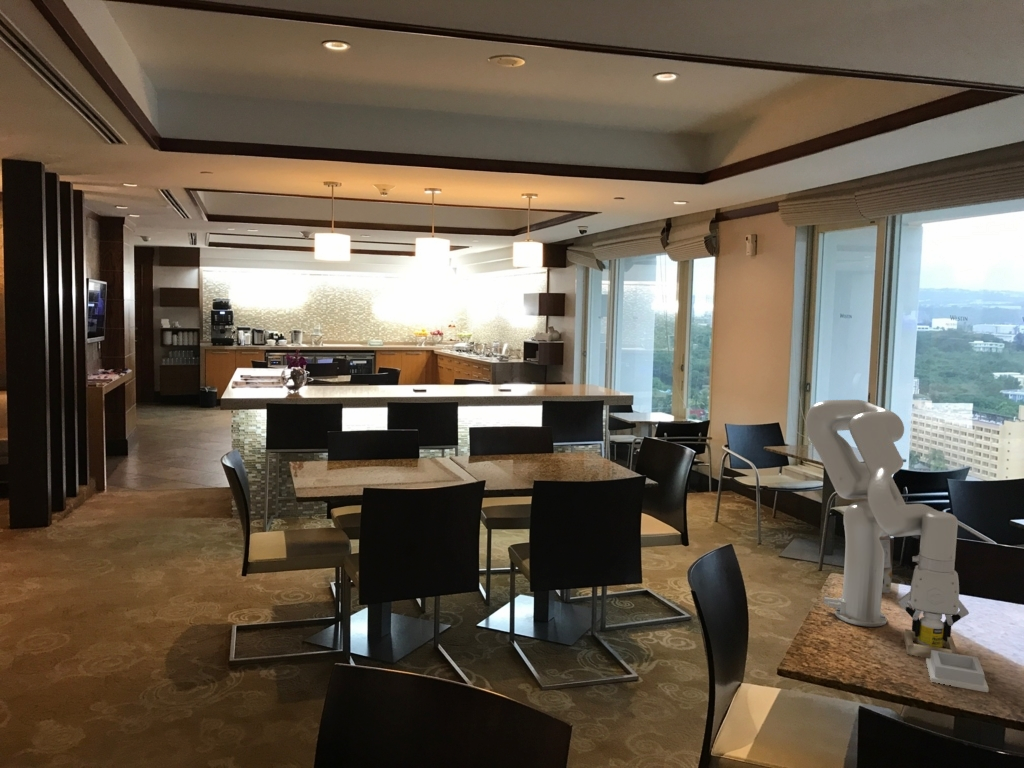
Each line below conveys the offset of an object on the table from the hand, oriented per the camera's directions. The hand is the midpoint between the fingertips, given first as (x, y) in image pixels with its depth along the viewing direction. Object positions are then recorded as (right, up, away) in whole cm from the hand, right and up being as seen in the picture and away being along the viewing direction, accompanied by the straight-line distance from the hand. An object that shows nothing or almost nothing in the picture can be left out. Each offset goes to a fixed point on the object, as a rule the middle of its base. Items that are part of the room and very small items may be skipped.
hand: (930, 636), depth 193 cm
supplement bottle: (0, -4, 0) cm, 4 cm away
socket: (-1, -5, -14) cm, 15 cm away
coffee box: (+6, 0, +44) cm, 45 cm away
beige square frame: (0, -3, 0) cm, 3 cm away
